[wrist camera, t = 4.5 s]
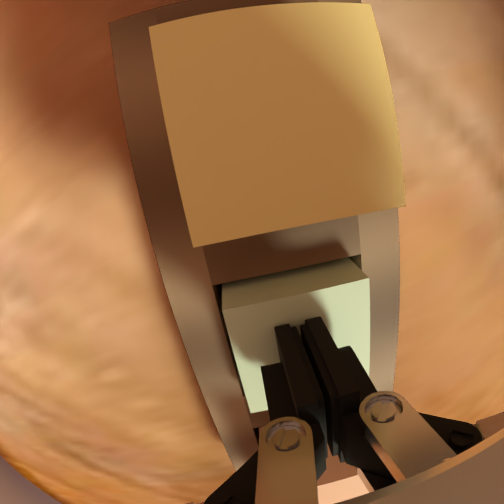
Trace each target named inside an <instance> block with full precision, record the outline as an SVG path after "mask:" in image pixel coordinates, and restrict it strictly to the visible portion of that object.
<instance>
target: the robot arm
mask: <svg viewBox="0 0 504 504" xmlns="http://www.w3.org/2000/svg"><path fill="white" fill-rule="evenodd" d="M274 330H275V335H276V341H277V346H278V352H279V357H280V363H275V364H270V365H265V366H260V367H261V373H262V378H263V384H264V390H265V395H266V401H267V406H268V412H269V417H270V423H268V424H267V425H266V426H265V427H264V428H263V429H262V431H261V433H260V437H259V449H258V450H257V451H256V452H255V453H254V454H253V455H252V456H251V457H250V458H249V459H248V460H247V461H246V462H245V463H244V464H243V465H242V466H241V467H240V468H239V469H238V470H237V471H236V472H235V473H234V474H233V475H232V476H231V477H230V478H229V479H228V480H227V481H225V482H224V483H223V484H222V485H221V486H220V487H219V488H218V489H217V490H216V491H214V492H213V493H212V494H211V495H210V496H209V497H208V498H207V499H206V501H205V502H202V503H198V504H319V501H318V487H317V481H318V479H319V478H320V477H321V475H322V474H323V473H324V471H325V470H326V458H328V448H327V443H328V446H329V449H330V452H331V454H332V456H336V455H338V457H339V460H340V463H342V462H346V464H349V465H351V466H354V467H355V469H356V472H357V474H358V475H359V477H360V479H361V480H362V482H363V483H364V485H365V487H366V488H367V490H368V491H369V493H367V494H364V495H361V496H358V497H355V498H352V499H348V500H345V501H342V502H338V503H334V504H504V412H502V413H499V414H496V415H493V416H490V417H487V418H484V419H481V420H477V422H476V424H474V425H472V424H470V423H467V422H462V421H457V420H451V419H446V418H442V417H437V416H432V415H428V414H423V413H419V412H417V411H416V410H415V409H414V408H413V407H412V406H411V405H410V403H409V402H408V401H407V400H406V399H405V398H404V397H403V396H401V395H400V394H398V393H395V392H392V391H377V390H376V388H375V386H374V385H373V383H372V381H371V379H370V378H369V376H368V374H367V373H366V371H365V369H364V367H363V366H362V364H361V362H360V361H359V359H358V357H357V356H356V354H355V352H354V351H353V349H352V348H351V346H345V347H341V348H338V347H337V346H336V344H335V342H334V340H333V338H332V336H331V334H330V333H329V331H328V329H327V327H326V325H325V323H324V322H323V320H322V318H321V317H320V316H319V317H315V318H311V319H306V320H305V324H303V325H300V330H301V337H302V340H301V337H300V335H299V332H298V330H297V327H296V326H294V327H290V324H284V325H280V326H275V327H274ZM186 504H194V503H193V502H190V503H186Z"/></svg>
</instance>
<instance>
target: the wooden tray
mask: <svg viewBox="0 0 504 504" xmlns="http://www.w3.org/2000/svg"><path fill="white" fill-rule="evenodd" d="M310 2H339V3H361V0H189V1H184V2H180V3H175V4H171V5H167V6H163V7H159V8H155V9H152V10H148V11H145V12H141V13H138V14H135V15H132V16H128V17H125V18H122V19H119V20H116V21H114V22H111V23H109V28H110V37H111V45H112V53H113V60H114V67H115V74H116V81H117V87H118V93H119V99H120V105H121V111H122V116H123V121H124V127H125V132H126V137H127V142H128V147H129V151H130V156H131V161H132V165H133V170H134V174H135V178H136V183H137V187H138V191H139V195H140V199H141V203H142V207H143V211H144V215H145V219H146V223H147V227H148V230H149V234H150V238H151V241H152V245H153V248H154V252H155V255H156V259H157V262H158V266H159V269H160V272H161V276H162V279H163V282H164V286H165V289H166V292H167V295H168V298H169V301H170V304H171V308H172V311H173V314H174V317H175V320H176V323H177V326H178V329H179V331H180V334H181V337H182V340H183V343H184V346H185V348H186V351H187V354H188V357H189V360H190V362H191V365H192V368H193V370H194V373H195V376H196V378H197V381H198V383H199V386H200V389H201V391H202V394H203V396H204V399H205V401H206V404H207V406H208V409H209V411H210V413H211V416H212V418H213V421H214V423H215V425H216V428H217V430H218V432H219V435H220V437H221V439H222V442H223V444H224V446H225V448H226V451H227V453H228V455H229V457H230V459H231V462H232V464H233V466H234V468H235V470H236V471H237V470H238V469H239V468H240V467H241V466H242V465H243V464H244V463H245V462H246V461H247V460H248V459H249V458H250V457H251V456H252V455H253V454H254V453H255V452H256V451H257V450H258V449H259V437H260V435H259V428H258V427H263V426H266V425H267V424H268V423H270V417H269V412H268V410H265V411H260V412H255V413H251V412H250V409H249V406H248V402H247V399H246V395H245V392H244V388H243V385H242V381H241V378H240V374H239V371H238V367H237V364H236V360H235V357H234V353H233V349H232V346H231V342H230V338H229V335H228V331H227V327H226V323H225V320H224V316H223V312H222V283H227V282H232V281H237V280H242V279H246V278H251V277H256V276H261V275H266V274H271V273H276V272H281V271H285V270H290V269H295V268H300V267H304V266H309V265H314V264H318V263H323V262H327V261H332V260H337V259H341V258H346V257H348V258H349V259H350V260H352V261H353V262H354V263H355V264H356V265H357V266H358V267H359V268H360V269H361V270H362V271H363V272H364V273H365V274H366V275H367V276H368V277H369V284H370V367H369V378H370V379H371V381H372V383H373V385H374V386H375V388H376V390H377V391H392V392H393V385H394V376H395V366H396V355H397V342H398V325H399V301H400V245H399V220H398V208H393V209H387V210H382V211H377V212H371V213H366V214H361V215H355V216H350V217H345V218H340V219H334V220H329V221H324V222H319V223H314V224H309V225H303V226H298V227H293V228H288V229H283V230H278V231H273V232H268V233H263V234H258V235H253V236H248V237H243V238H238V239H233V240H228V241H224V242H219V243H214V244H209V245H204V246H199V247H195V248H193V245H192V241H191V237H190V233H189V229H188V224H187V220H186V216H185V212H184V208H183V203H182V199H181V195H180V190H179V186H178V181H177V177H176V172H175V168H174V163H173V159H172V154H171V149H170V144H169V139H168V134H167V129H166V124H165V119H164V114H163V109H162V104H161V98H160V93H159V87H158V82H157V76H156V70H155V64H154V58H153V52H152V46H151V40H150V33H149V27H150V26H154V25H158V24H161V23H165V22H169V21H173V20H177V19H182V18H186V17H191V16H196V15H201V14H206V13H211V12H217V11H223V10H229V9H236V8H244V7H252V6H261V5H272V4H286V3H310Z"/></svg>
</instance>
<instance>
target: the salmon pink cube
mask: <svg viewBox="0 0 504 504" xmlns="http://www.w3.org/2000/svg"><path fill="white" fill-rule="evenodd" d="M264 427H265V426H263V427H258V428H259V435H260V433H261V431H262V429H263V428H264ZM327 448H328V458H326V470H325V471H324V473H323V474H322V475H321V477H320V478H319V479H318V481H317V487H318V501H319V504H334V503H338V502H342V501H345V500H348V499H352V498H355V497H358V496H361V495H364V494H367V493H369V491H368V490H367V488H366V487H365V485H364V483H363V482H362V480H361V479H360V477H359V475H358V474H357V472H356V469H355V467H354V466H351V465H349V464H346V462H342V463H340V460H339V457H338V455H336V456H332V454H331V452H330V449H329V446H328V443H327Z"/></svg>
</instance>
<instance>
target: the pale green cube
mask: <svg viewBox="0 0 504 504" xmlns="http://www.w3.org/2000/svg"><path fill="white" fill-rule="evenodd" d="M222 312H223V316H224V320H225V323H226V327H227V331H228V335H229V338H230V342H231V346H232V349H233V353H234V357H235V360H236V364H237V367H238V371H239V374H240V378H241V381H242V385H243V388H244V392H245V395H246V399H247V402H248V406H249V409H250V412H251V413H255V412H260V411H265V410H268V406H267V401H266V395H265V390H264V384H263V378H262V373H261V367H260V366H265V365H270V364H275V363H280V357H279V352H278V346H277V341H276V335H275V330H274V327H275V326H280V325H284V324H290V327H294V326H296V327H297V330H298V332H299V335H300V337H301V330H300V325H303V324H305V320H306V319H311V318H315V317H319V316H320V317H321V318H322V320H323V322H324V323H325V325H326V327H327V329H328V331H329V333H330V334H331V336H332V338H333V340H334V342H335V344H336V346H337V347H338V348H341V347H345V346H351V348H352V349H353V351H354V352H355V354H356V356H357V357H358V359H359V361H360V362H361V364H362V366H363V367H364V369H365V371H366V373H367V374H368V376H369V367H370V284H369V277H368V276H367V275H366V274H365V273H364V272H363V271H362V270H361V269H360V268H359V267H358V266H357V265H356V264H355V263H354V262H353V261H352V260H350V259H349V258H348V257H346V258H341V259H337V260H332V261H327V262H323V263H318V264H314V265H309V266H304V267H300V268H295V269H290V270H285V271H281V272H276V273H271V274H266V275H261V276H256V277H251V278H246V279H242V280H237V281H232V282H227V283H222ZM301 340H302V337H301Z"/></svg>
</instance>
